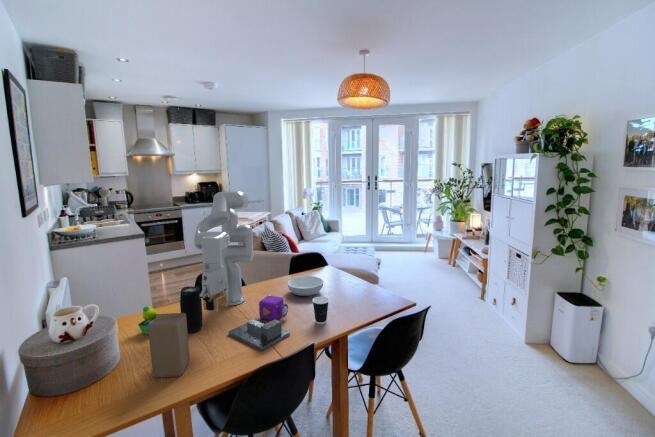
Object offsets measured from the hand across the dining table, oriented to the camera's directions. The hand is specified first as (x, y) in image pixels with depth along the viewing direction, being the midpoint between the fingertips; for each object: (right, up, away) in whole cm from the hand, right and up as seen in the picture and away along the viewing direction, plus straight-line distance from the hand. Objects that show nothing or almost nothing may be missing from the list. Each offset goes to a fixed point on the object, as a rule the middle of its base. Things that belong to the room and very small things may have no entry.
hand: (215, 306), depth 138 cm
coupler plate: (+17, -14, +7) cm, 23 cm away
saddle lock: (0, -1, 0) cm, 1 cm away
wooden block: (-10, -19, -18) cm, 28 cm away
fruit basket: (-32, -14, +12) cm, 37 cm away
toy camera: (+21, -12, +24) cm, 34 cm away
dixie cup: (+44, -13, +19) cm, 49 cm away
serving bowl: (+34, -7, +55) cm, 65 cm away
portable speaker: (-14, -14, +12) cm, 24 cm away
